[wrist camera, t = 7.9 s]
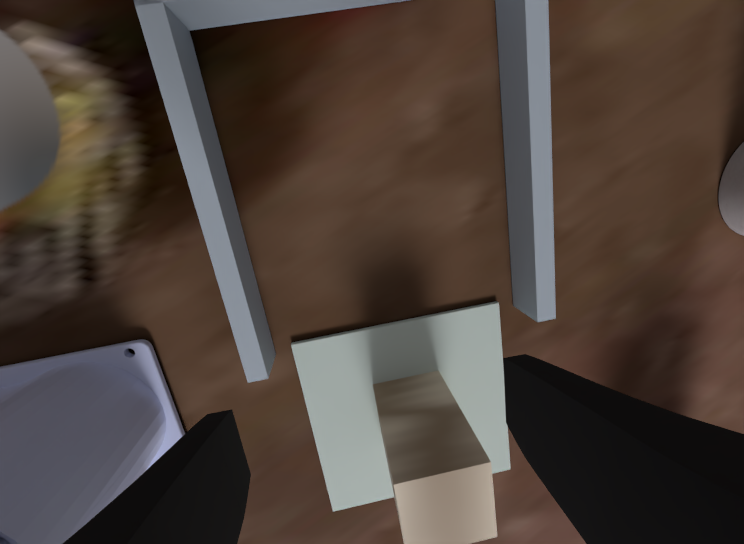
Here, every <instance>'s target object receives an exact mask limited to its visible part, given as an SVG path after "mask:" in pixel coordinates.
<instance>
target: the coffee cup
mask: <svg viewBox="0 0 744 544" xmlns="http://www.w3.org/2000/svg"><path fill="white" fill-rule="evenodd" d="M718 200H719V208H720V212H721V215H722V217H723V219H724V221H725V223H726V224H727V225H728V226H729V227H730V228H731V229H732V230H733V231H734V232H736V233H738V234H740V235H743V236H744V142H743V143H742V144H741V145H740V146H739V147H738V148H737V150H736V151H735V152H734V154H733V155H732V157H731V158H730V160H729V162H728V163H727V165H726V168H725V170H724V172H723V175H722V178H721V182H720V186H719V195H718Z"/></svg>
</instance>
